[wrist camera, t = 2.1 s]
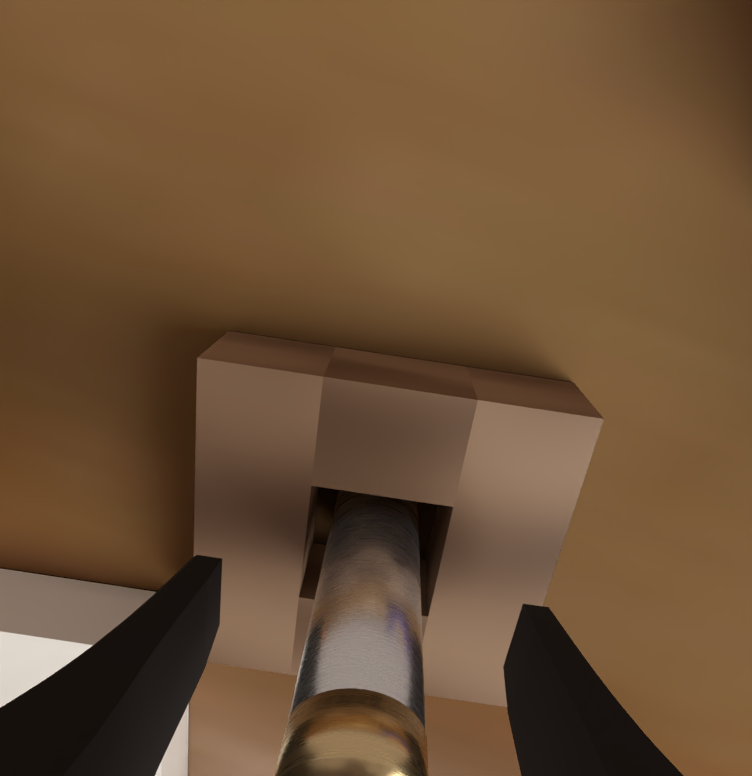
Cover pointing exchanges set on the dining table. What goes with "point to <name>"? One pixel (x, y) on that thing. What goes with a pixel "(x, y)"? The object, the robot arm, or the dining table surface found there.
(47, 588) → the tray
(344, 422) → the square hole board
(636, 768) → the robot arm
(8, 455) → the dining table surface
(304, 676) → the steel pin
